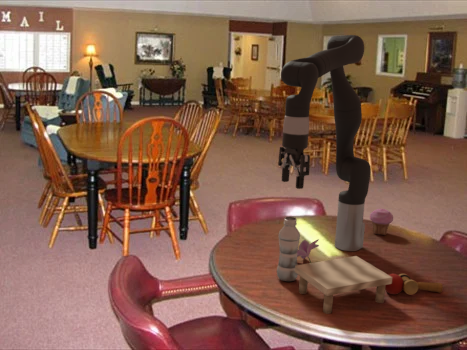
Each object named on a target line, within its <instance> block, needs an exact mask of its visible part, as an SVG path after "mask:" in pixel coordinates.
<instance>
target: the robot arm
mask: <svg viewBox="0 0 467 350" xmlns="http://www.w3.org/2000/svg"><path fill="white" fill-rule="evenodd" d="M364 53H365V43H364V40H363V39H362V37H361V36H360V35H356V34H345V35H333V36H330V37H329V38H328V41H327V45H326V49H324V50H319V51H317V52H315V53H313V54H311V55H309V56H307V57H301V58H296V59H293V60H290V61H287V62H286V63H285V64H284V65H283V67H282V69H281V72H280V79H281V81H282V82H283V83H284V84H285V85H286V86H288V87H296V88H300V90H299V92H298V93H297V94H291V95H288V96H287V97H285V106H284V107H285V108H284V109H285V111H284V118H283V125H282V126H283V127H282V138H281V139H282V140H281V141H282V143H281V146H280V147H279V152H278V161H277V164H278V167H280V169H281V170H282V171H281V182H283V183H288V182H289V181H290V168H291V166H292V168H293V170H294V171H295V174H296V176H295V177H296V178H295V188H296V189H298V190H300V189H301V190H302V189H304V184H305V183H304V182H305V177H306V176H309V175H310V168H311V167H310V164H311V162H310V161H311V156H310V155H309V154H305V153H304V150H305V149H307V148H308V146H309V145H308V144H309V131H310V108H311V106H310V105H311V101H312V97H313V94H314V91H315V89H316V85H317V83H318V80H319V78H321V77H323V76H325V75H327V74H328V73H330V81H331V88H332V89H331V90H332V100H333V101H332V102H333V117H334V126H335V127H334V128H335V143H336V145H335V146H336V147H335V148H336V149H335V150H336V151H335V170H336V171H335V172H336V175H337V177H338V178H339V180H342V181H344V182H347V183H349V184H348V189H347V190H343V191H340V192H339V193H338V200H337V201H338V202H337V213H336V223H335V224H336V225H335V226H336V228H335V240H334V247H335V248H336V249H338V250H341V251H345V252H357V251H359V250H361V249H363V248H364V239H365V228H366V223H365V222H364V215H365V214H364V212H365V204H366V202H365V201H366V198H367V196H368V192H369V186H370V181H371V180H370V179H371V171H372V170H371V165H370V163H369V161H368V160H366V159H364V158H360V157H357V156H355V152H354V151H355V150H354V142H355V138H356V136H357V133H358V131H359V129H360V126H361V125H362V121H363V117H362V115H363V113H362V102H361V99H360V97H359V95H358V94H357V92H356V90H355V89H354V88H353V86H352V85H351V83H350V82H349V79H348V78H347V76H346V74H345V69H344V66H347V65H353V64H357V63H359V62H361V60H362V58H363V56H364Z"/></svg>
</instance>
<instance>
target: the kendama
mask: <svg viewBox="0 0 467 350" xmlns="http://www.w3.org/2000/svg"><path fill="white" fill-rule="evenodd" d="M388 275H389V276H391V277H392V284H388V285H386V286H385V293H388V294H389V295H390V294H391V295H397V294H399V293H402V292H404V293H405V294H407V295H409V296H410V295H415V294H416V293H417V292H418V291H419V290H422V291H429V292H434V293H442V292H443V290H444V289H443V287H444V286H443V283H441V282H429V281H428V282H426V281H423V282H422V281H418V282H417V281H416V280H414V279H411V277H410V276H409V275H408V274H406V273H399V274H396V273H389V274H388Z"/></svg>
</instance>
